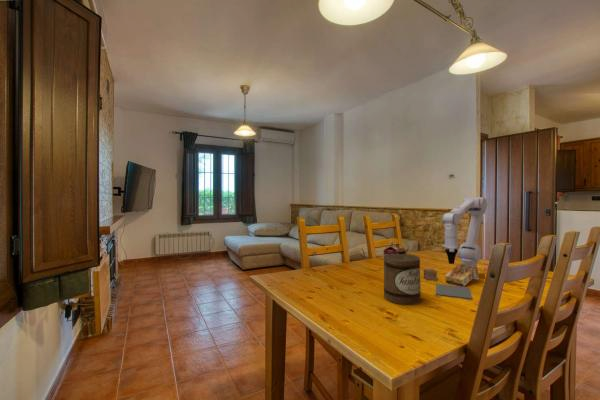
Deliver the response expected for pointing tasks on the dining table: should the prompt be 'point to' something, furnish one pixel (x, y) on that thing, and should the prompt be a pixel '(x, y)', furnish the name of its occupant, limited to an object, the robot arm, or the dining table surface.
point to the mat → (453, 291)
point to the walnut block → (430, 274)
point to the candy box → (461, 274)
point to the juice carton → (391, 249)
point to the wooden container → (402, 278)
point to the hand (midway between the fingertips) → (451, 263)
